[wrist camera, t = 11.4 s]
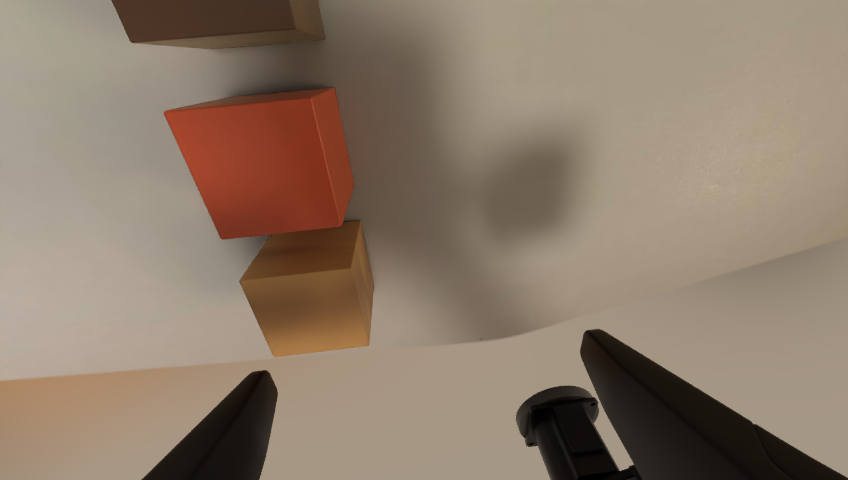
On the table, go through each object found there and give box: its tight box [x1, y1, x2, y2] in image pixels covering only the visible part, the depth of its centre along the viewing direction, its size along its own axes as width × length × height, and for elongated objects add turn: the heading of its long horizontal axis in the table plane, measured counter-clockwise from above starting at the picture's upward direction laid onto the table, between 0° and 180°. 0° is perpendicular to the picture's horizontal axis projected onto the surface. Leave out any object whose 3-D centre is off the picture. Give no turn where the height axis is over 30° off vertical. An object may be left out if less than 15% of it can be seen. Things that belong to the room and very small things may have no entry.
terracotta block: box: [164, 88, 354, 239], centre depth 14 cm, size 5×5×5 cm
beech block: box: [239, 221, 374, 357], centre depth 18 cm, size 5×5×5 cm
